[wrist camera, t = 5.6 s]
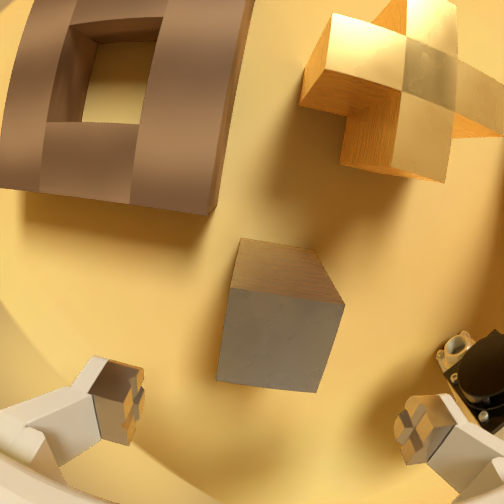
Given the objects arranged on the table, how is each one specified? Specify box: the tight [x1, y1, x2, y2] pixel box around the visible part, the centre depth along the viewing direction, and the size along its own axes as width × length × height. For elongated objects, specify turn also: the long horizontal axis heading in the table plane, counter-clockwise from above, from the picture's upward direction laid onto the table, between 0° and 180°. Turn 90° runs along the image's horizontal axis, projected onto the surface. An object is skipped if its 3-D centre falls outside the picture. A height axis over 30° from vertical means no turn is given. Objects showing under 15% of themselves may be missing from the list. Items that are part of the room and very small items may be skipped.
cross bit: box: [299, 0, 504, 183], centre depth 13 cm, size 8×8×8 cm
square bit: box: [216, 238, 345, 393], centre depth 16 cm, size 4×4×8 cm
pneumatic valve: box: [436, 329, 504, 441], centre depth 16 cm, size 6×12×12 cm, turn 38°
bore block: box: [0, 0, 255, 216], centre depth 15 cm, size 14×14×4 cm
